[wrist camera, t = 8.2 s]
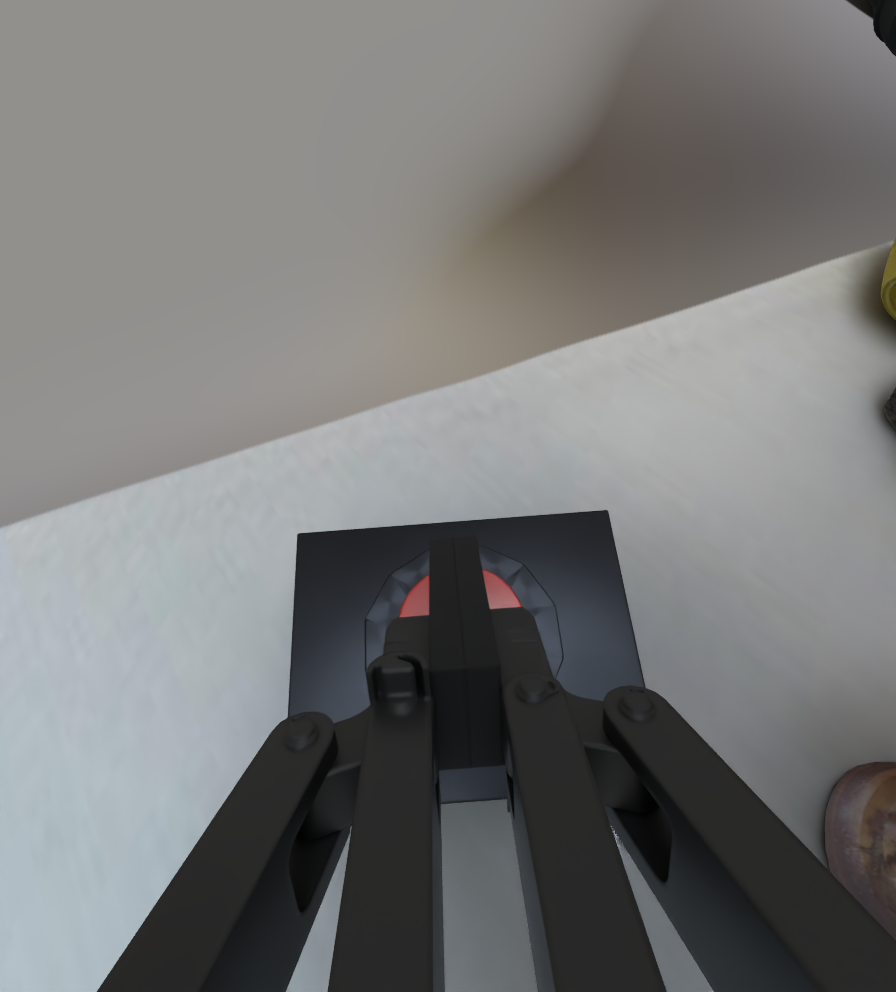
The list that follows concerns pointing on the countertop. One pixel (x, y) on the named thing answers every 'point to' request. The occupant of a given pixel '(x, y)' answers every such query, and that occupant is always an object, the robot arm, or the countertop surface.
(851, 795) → the mortar and pestle
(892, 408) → the stone
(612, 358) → the countertop surface
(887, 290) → the flower pot
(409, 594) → the button
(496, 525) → the control block
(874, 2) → the boot
